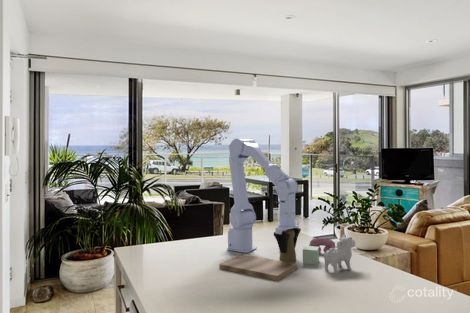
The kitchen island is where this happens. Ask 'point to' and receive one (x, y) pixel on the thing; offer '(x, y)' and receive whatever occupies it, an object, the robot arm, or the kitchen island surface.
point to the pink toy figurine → (322, 243)
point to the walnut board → (259, 266)
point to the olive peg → (289, 248)
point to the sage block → (310, 255)
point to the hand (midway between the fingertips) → (287, 250)
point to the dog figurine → (340, 253)
